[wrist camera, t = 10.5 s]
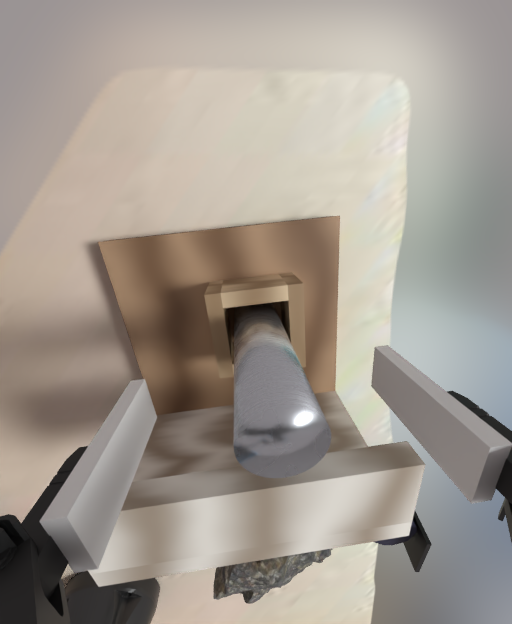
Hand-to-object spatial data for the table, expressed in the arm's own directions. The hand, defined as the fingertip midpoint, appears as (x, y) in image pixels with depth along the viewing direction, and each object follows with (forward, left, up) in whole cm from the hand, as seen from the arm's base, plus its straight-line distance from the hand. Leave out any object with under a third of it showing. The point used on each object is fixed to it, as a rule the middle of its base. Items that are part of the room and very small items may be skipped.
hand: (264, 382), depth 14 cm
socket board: (-2, -2, -12) cm, 12 cm away
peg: (0, 0, -10) cm, 10 cm away
